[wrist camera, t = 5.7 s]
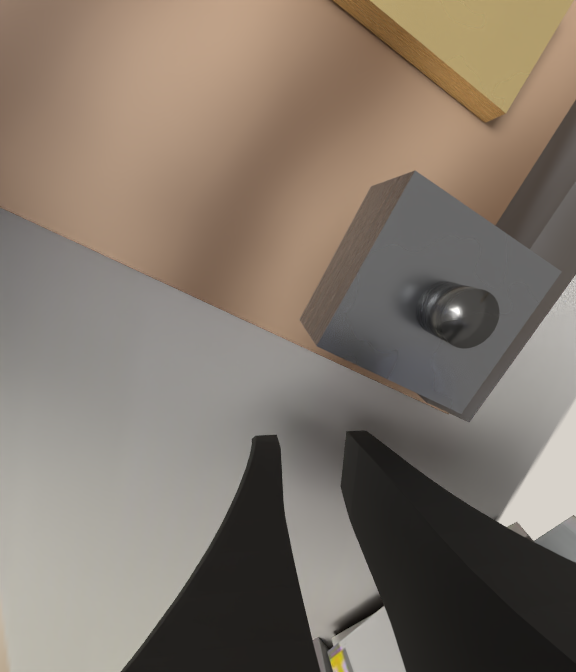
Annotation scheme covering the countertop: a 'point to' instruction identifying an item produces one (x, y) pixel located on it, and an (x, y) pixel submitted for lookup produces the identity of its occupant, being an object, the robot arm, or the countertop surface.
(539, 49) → the yellow rectangular block
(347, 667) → the toy figure
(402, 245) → the knobbed plate
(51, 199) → the brown wooden board
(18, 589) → the countertop surface
